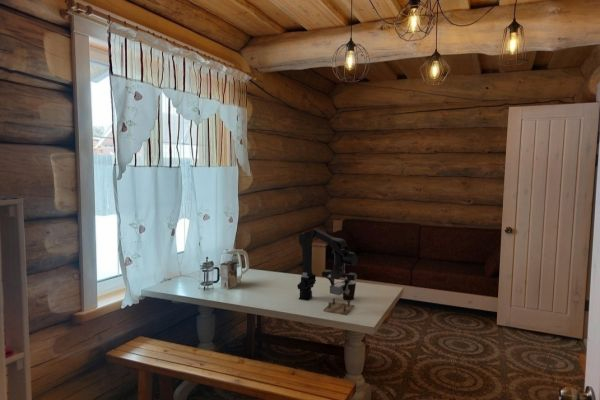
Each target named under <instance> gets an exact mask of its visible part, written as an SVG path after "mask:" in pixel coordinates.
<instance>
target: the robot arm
mask: <svg viewBox="0 0 600 400" xmlns="http://www.w3.org/2000/svg"><path fill="white" fill-rule="evenodd" d="M315 238H317V239H318V240H321V241H322V242H324V243H326V244H328V245H329V247H330V248H331V249H332V251H331V252H330V253H331V254H333V257H334V258H333V259H334V263H333V266H332V269H325V270H323V271H322V272H321V277H322V278H326V279H327V280H328V281H329V282H330V286H331V285H333V284H335V280H340V279H341V278H345V279H343V281H345V286H344V291H346V288H347V286H348V283H349V281H351V280H352V281H355V280H357V279H358V274H357V272H349V273H346V270H345V268H346V265H348V266H354V267H355V266H356V265H358V260H359V258H358V256H357V255H356V252H352V251H351V249H350V247H349V246H348V244H347V241H346V239H344V238H340V237H334V236H332V235H330V234H328V233H326V232H325V231H323V230H321V229H320V228H318V227H317V228H312V229H310V230H309V231H306V232H302V233H300V234H299V235H298V243H299V245H300V247H301V254H302V256H301V257H302V274H301V276H300V282H299V283H298V284H297V286H296V287H297V289H298V290H299V297H298V300H304V301H310V300H311V299H312V298H313V291H312V288H314V286H315V284H316V281H317V280H316V276H317V275H316V274H314V273H313V271H312V270H313V269H312V268H313V267H312V254H311V253H312V252H311V251H312V250H311V247H312V245H313V242H314V239H315Z"/></svg>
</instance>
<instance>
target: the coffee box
mask: <svg viewBox="0 0 600 400" xmlns="http://www.w3.org/2000/svg"><path fill="white" fill-rule="evenodd" d="M219 266H220V288H221V289H225V290H230V289H232V288H234V287H237V286H238V261H233V260H228V261H225V262H222V263H220V265H219Z"/></svg>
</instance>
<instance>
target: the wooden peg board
mask: <svg viewBox="0 0 600 400" xmlns="http://www.w3.org/2000/svg"><path fill="white" fill-rule="evenodd" d="M350 301H351V300H347V303H344V302H338V301H336V298H332V301H331V302H328V305H327V306H325V308H323V312H324V313H325V312H326V313H331V314H338V315H341V316H343V315H344V316H347V315H348V314H349V313H350V312H351V310H352V309H354V308H355V304H351V302H350Z"/></svg>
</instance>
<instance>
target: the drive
mask: <svg viewBox="0 0 600 400" xmlns="http://www.w3.org/2000/svg"><path fill="white" fill-rule="evenodd" d="M344 286H345V283H343V282H342V281H337V282H334V284H333V285H331V284H330V286H329V294H331V295H336V296H341V295H343V293H345V292H346V291H348V286H347V288H346V291H344Z"/></svg>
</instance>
